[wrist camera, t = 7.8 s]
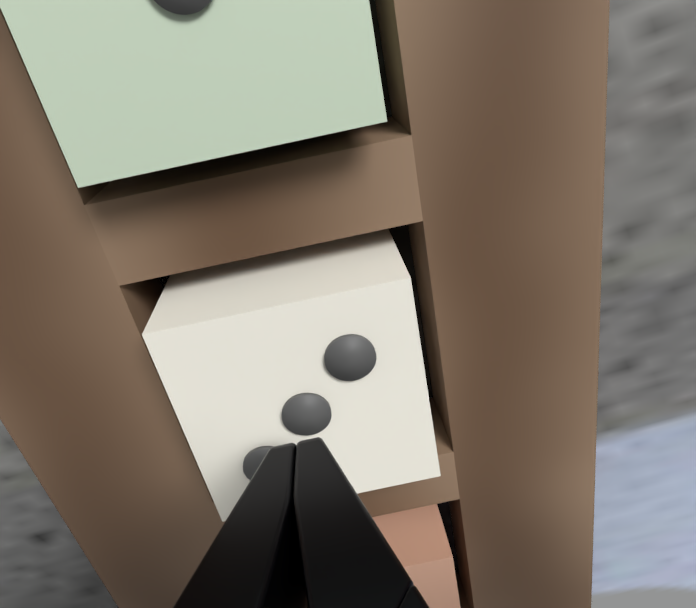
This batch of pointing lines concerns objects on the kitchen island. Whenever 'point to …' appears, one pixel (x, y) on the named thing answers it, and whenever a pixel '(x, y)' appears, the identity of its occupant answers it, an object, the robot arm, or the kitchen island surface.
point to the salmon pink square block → (423, 552)
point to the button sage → (194, 77)
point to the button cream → (298, 363)
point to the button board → (321, 226)
